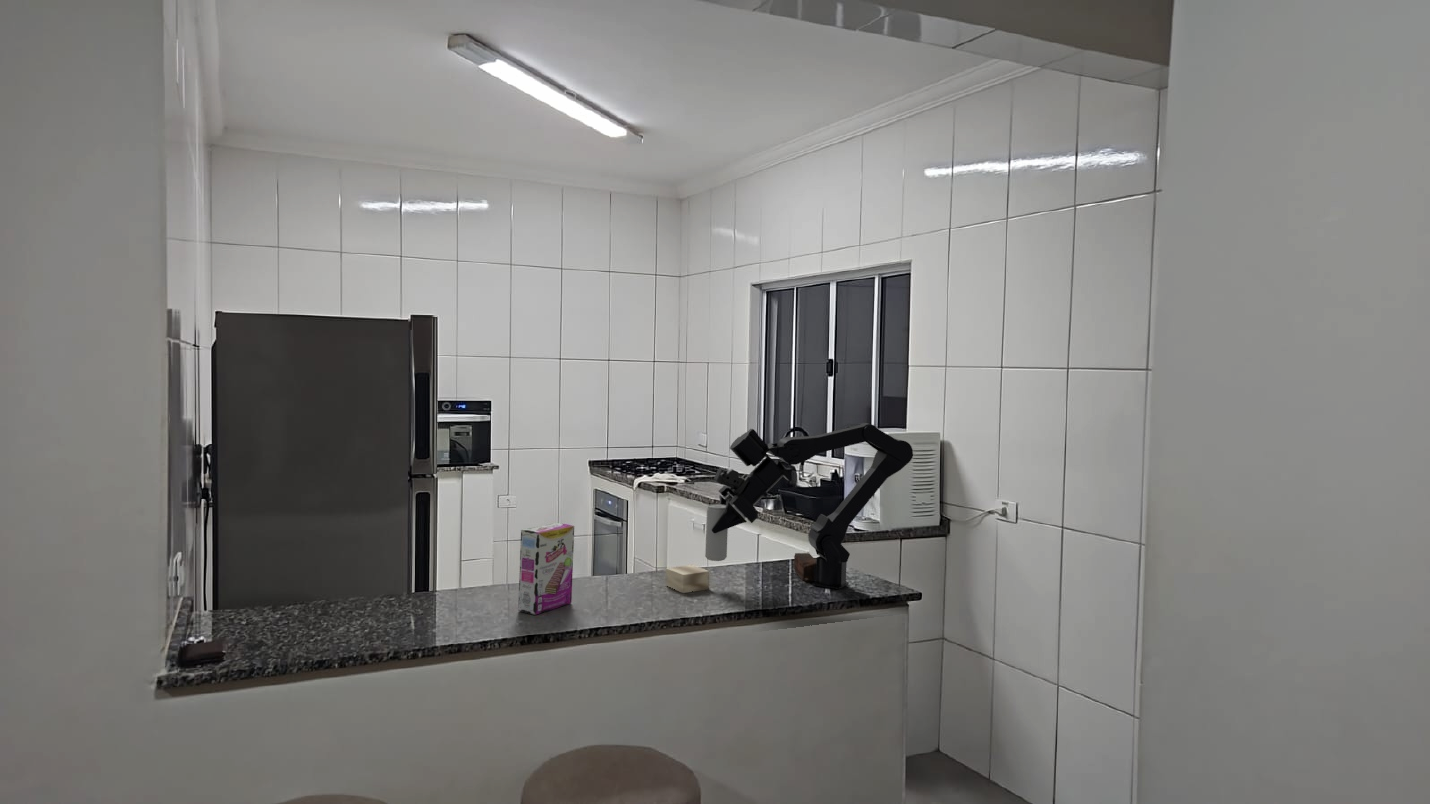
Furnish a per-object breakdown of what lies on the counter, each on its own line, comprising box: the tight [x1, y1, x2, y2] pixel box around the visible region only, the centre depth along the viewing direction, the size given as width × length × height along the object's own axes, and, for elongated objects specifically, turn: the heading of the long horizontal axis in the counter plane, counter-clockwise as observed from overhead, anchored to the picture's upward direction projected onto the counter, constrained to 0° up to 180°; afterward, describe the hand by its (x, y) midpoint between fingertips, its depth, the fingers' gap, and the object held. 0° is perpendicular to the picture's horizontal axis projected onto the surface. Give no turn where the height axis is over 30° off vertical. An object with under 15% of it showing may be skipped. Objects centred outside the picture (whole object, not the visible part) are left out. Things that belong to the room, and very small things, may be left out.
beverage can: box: [704, 503, 729, 562], centre depth 198 cm, size 5×5×12 cm
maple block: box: [665, 564, 710, 594], centre depth 197 cm, size 7×7×4 cm
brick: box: [793, 552, 817, 582], centre depth 211 cm, size 11×4×5 cm, turn 7°
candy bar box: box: [517, 522, 575, 616], centre depth 178 cm, size 11×5×16 cm, turn 149°
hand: (710, 529), depth 198 cm, fingers closed on beverage can, 5 cm apart
